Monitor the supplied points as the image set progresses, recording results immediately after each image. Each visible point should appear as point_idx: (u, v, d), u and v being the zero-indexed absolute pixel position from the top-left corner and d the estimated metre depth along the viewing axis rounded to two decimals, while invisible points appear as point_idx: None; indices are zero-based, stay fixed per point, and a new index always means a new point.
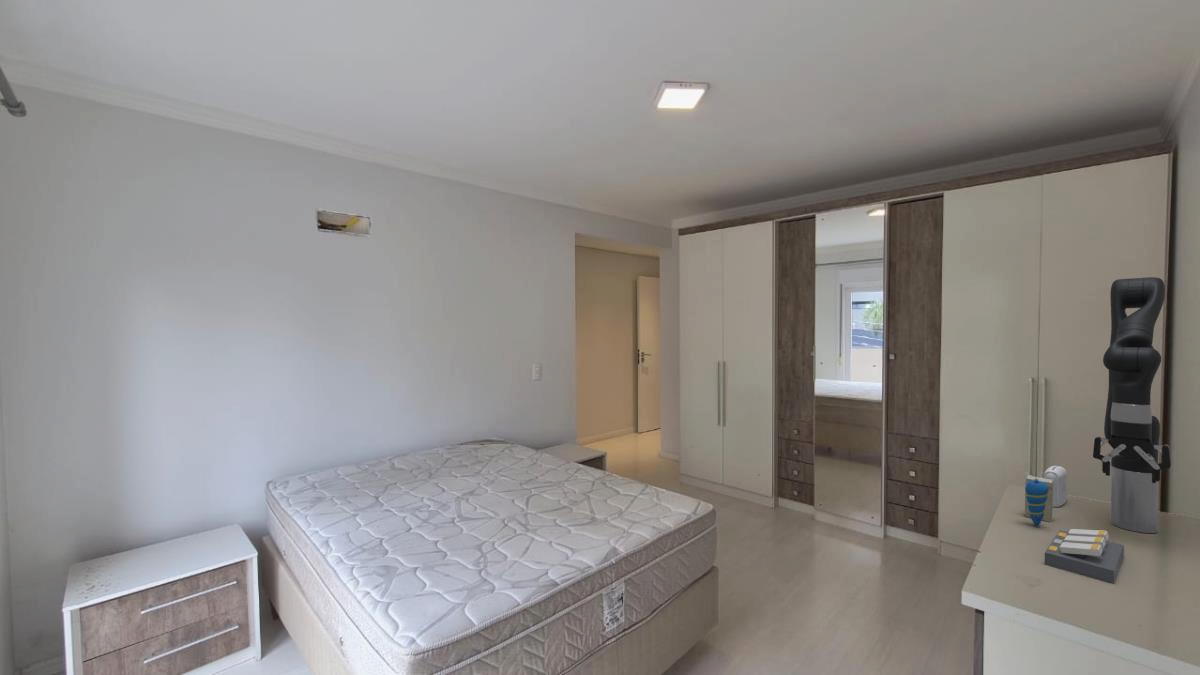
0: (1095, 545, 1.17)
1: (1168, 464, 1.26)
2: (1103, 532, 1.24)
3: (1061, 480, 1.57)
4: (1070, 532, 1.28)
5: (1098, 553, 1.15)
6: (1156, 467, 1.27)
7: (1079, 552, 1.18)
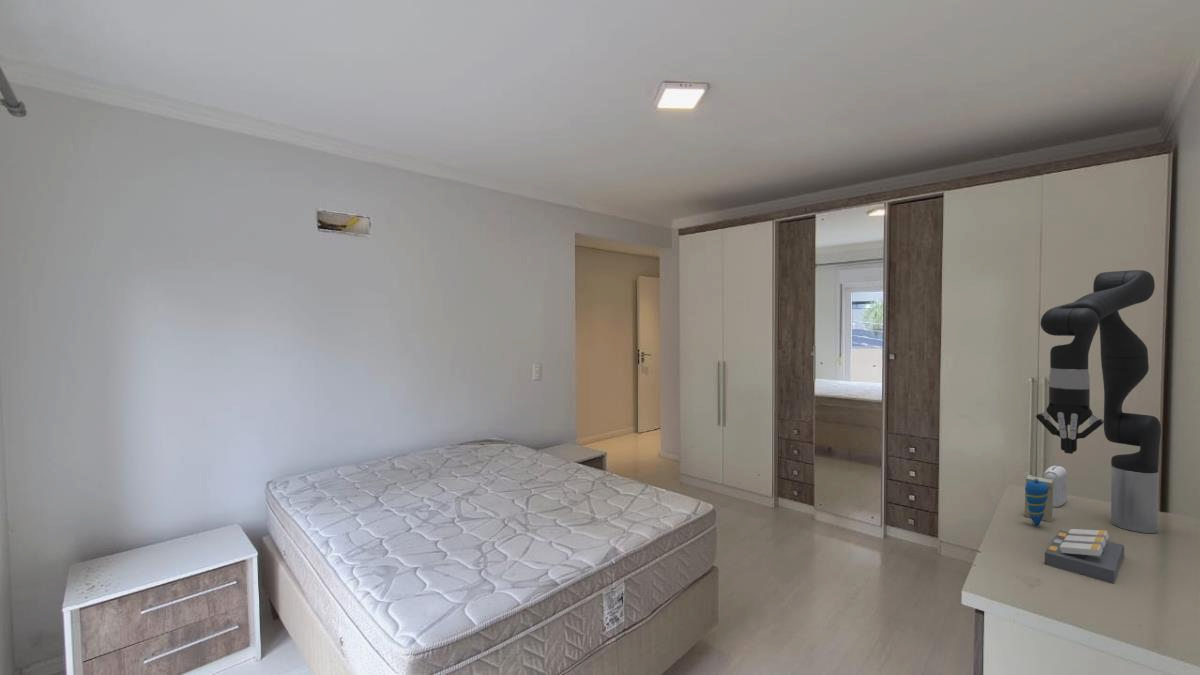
0: (1095, 545, 1.17)
1: (1085, 435, 1.21)
2: (1103, 532, 1.24)
3: (1061, 480, 1.57)
4: (1070, 532, 1.28)
5: (1098, 553, 1.15)
6: (1072, 437, 1.23)
7: (1079, 552, 1.18)
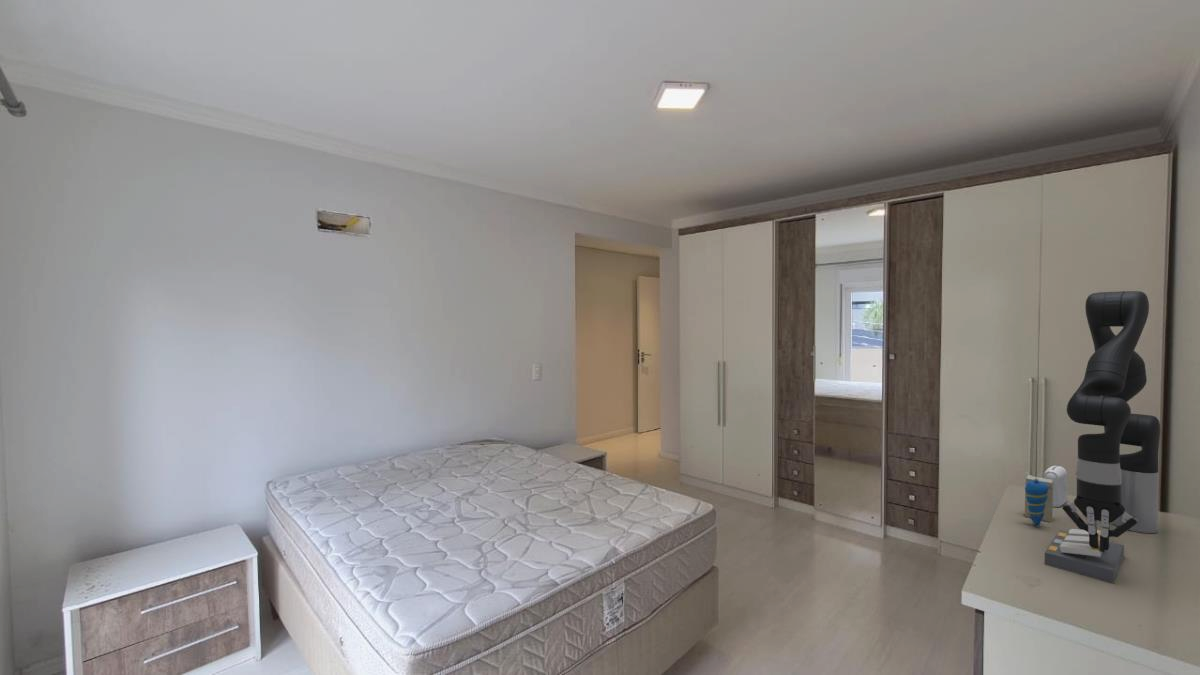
0: None
1: (1118, 534, 1.13)
2: None
3: (1061, 480, 1.57)
4: (1070, 532, 1.28)
5: (1098, 554, 1.15)
6: (1104, 535, 1.15)
7: (1079, 552, 1.18)
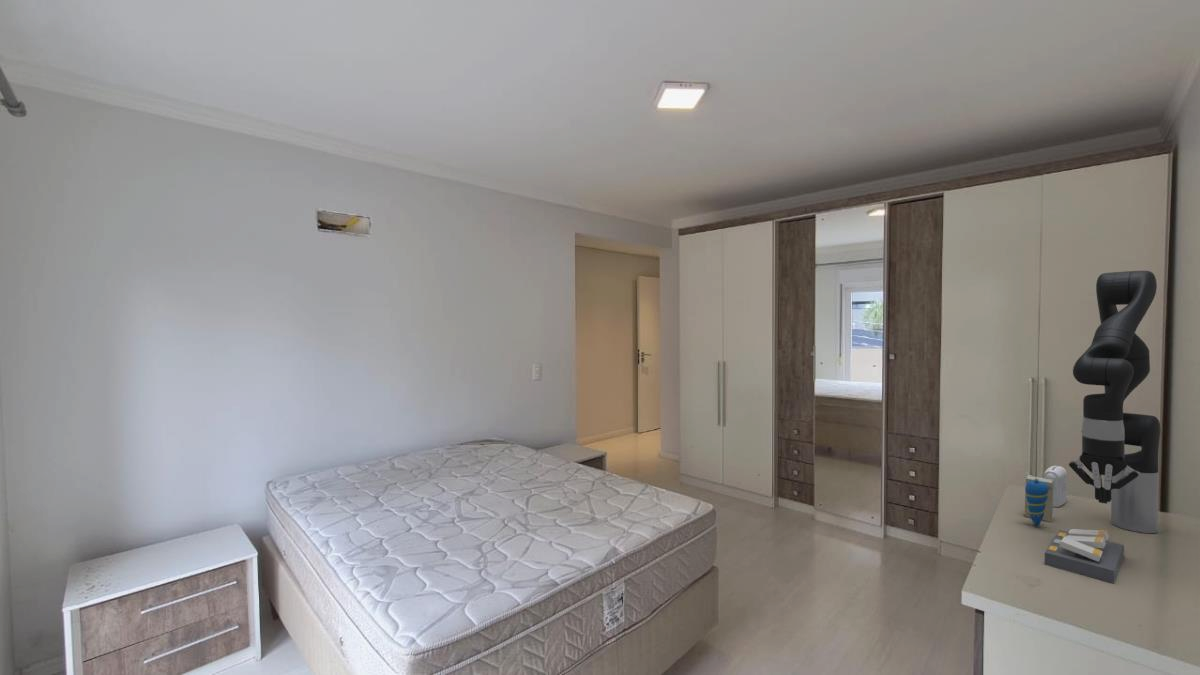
0: (1097, 550, 1.17)
1: (1120, 486, 1.20)
2: (1103, 532, 1.24)
3: (1061, 480, 1.57)
4: (1070, 532, 1.28)
5: (1098, 559, 1.15)
6: (1107, 487, 1.22)
7: (1078, 552, 1.18)
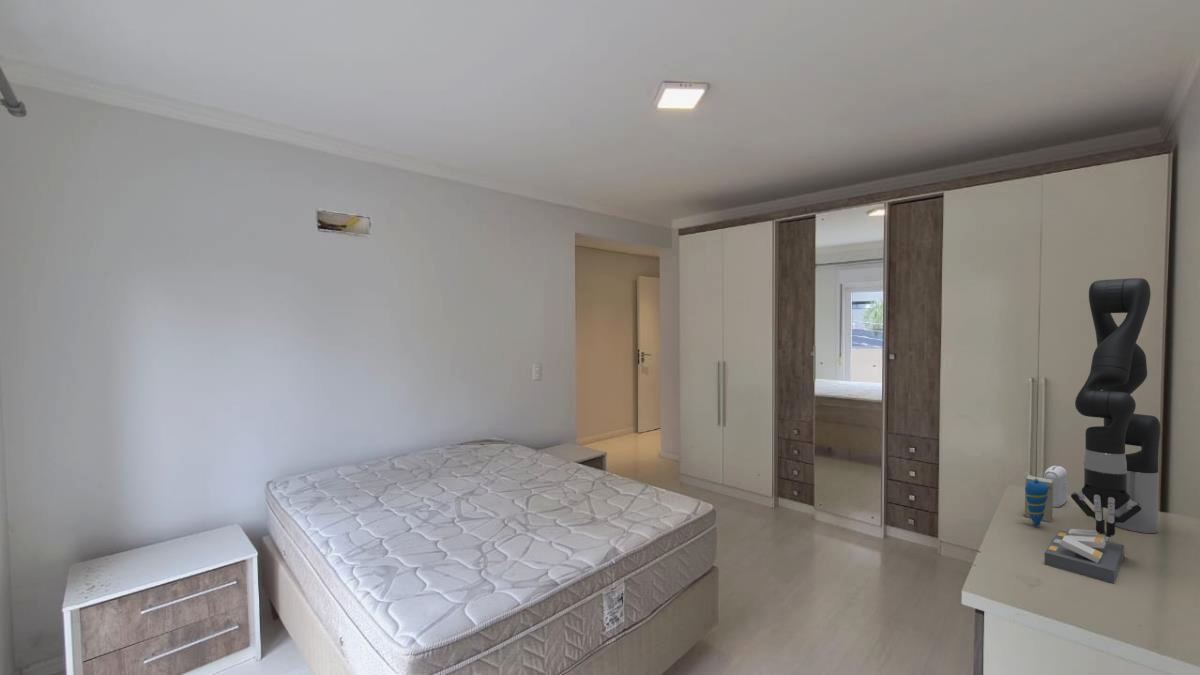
0: (1097, 552, 1.17)
1: (1124, 520, 1.20)
2: None
3: (1061, 480, 1.57)
4: (1070, 532, 1.28)
5: (1097, 560, 1.15)
6: (1110, 521, 1.22)
7: (1078, 552, 1.18)
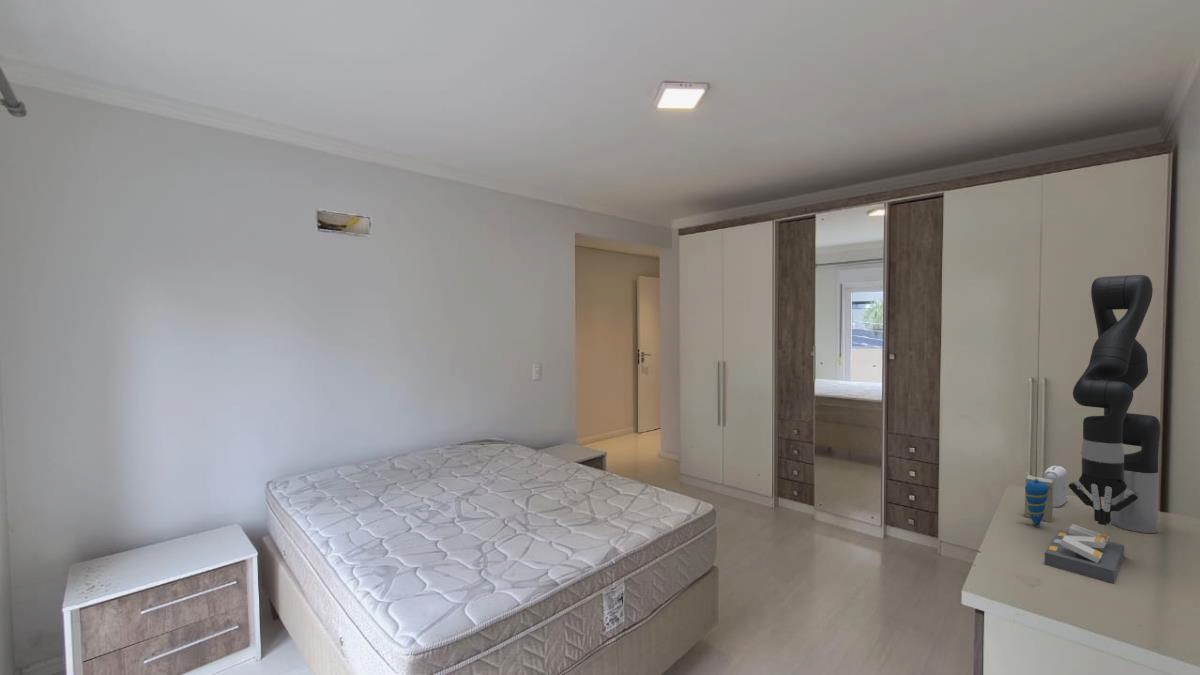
0: (1097, 552, 1.17)
1: (1119, 508, 1.21)
2: (1105, 537, 1.24)
3: (1061, 480, 1.57)
4: (1071, 527, 1.28)
5: (1097, 560, 1.15)
6: (1106, 509, 1.23)
7: (1078, 552, 1.18)
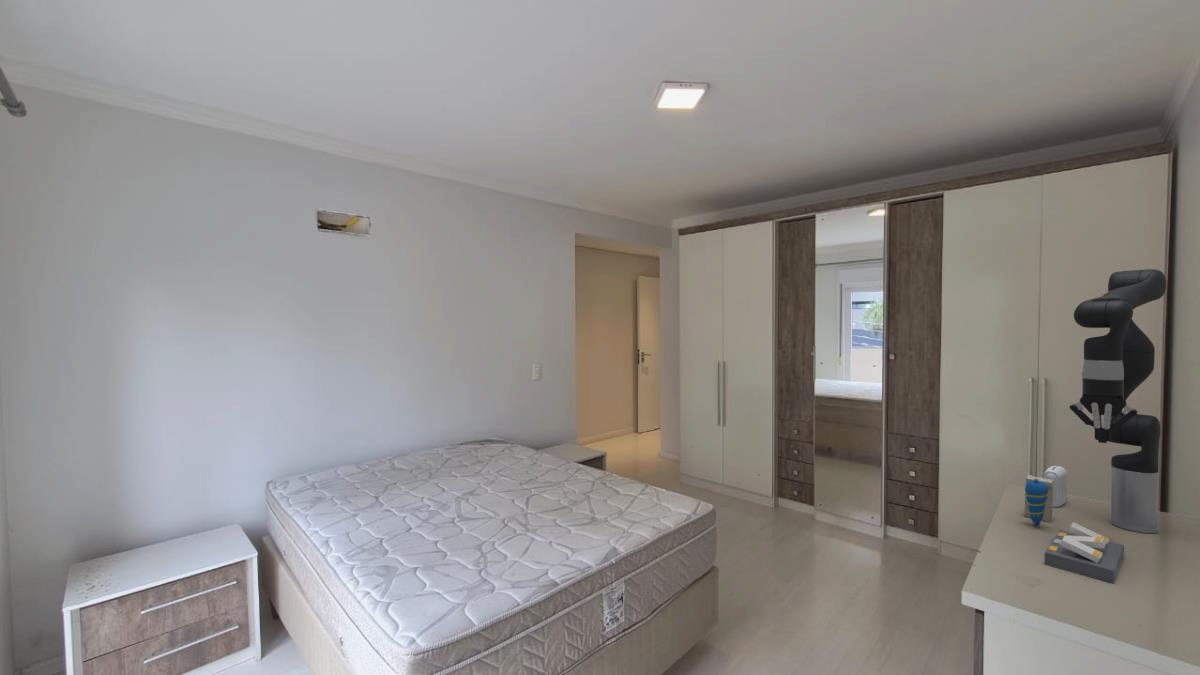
0: (1097, 552, 1.17)
1: (1119, 425, 1.24)
2: (1105, 539, 1.24)
3: (1061, 480, 1.57)
4: (1073, 526, 1.27)
5: (1097, 560, 1.15)
6: (1106, 427, 1.25)
7: (1078, 552, 1.18)
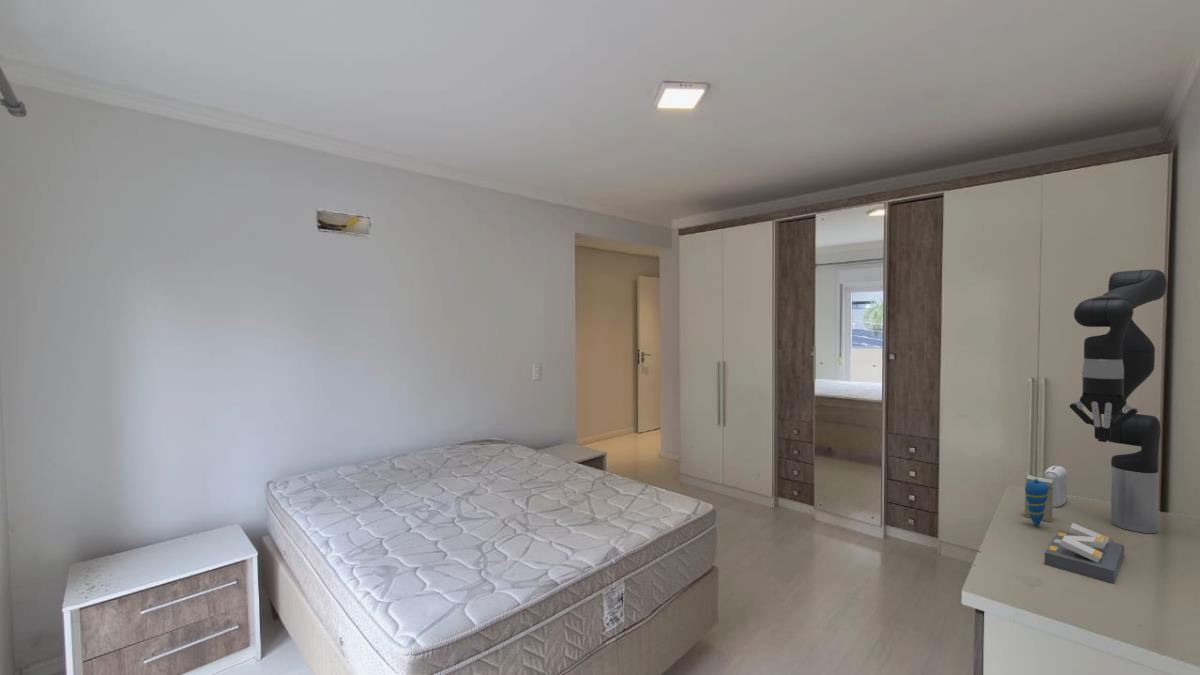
0: (1097, 552, 1.17)
1: (1119, 424, 1.24)
2: (1105, 538, 1.24)
3: (1061, 480, 1.57)
4: (1072, 527, 1.28)
5: (1097, 560, 1.15)
6: (1106, 426, 1.25)
7: (1078, 552, 1.18)
